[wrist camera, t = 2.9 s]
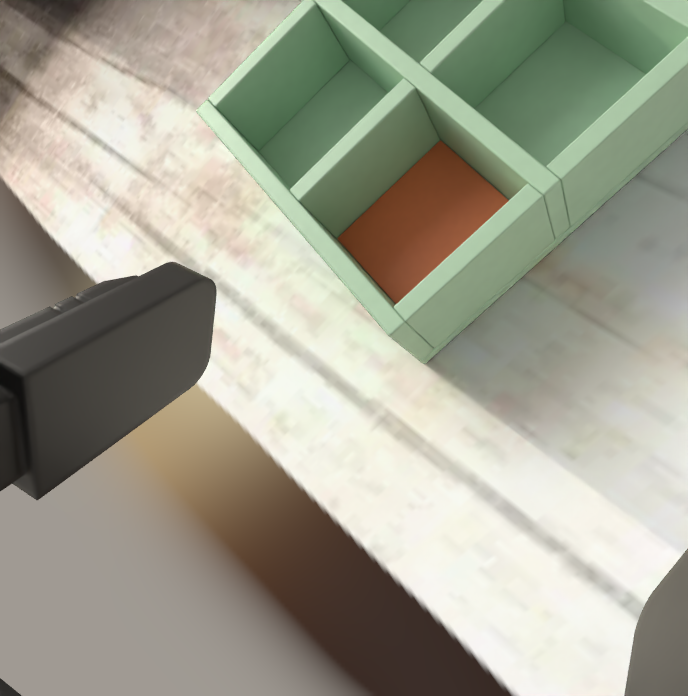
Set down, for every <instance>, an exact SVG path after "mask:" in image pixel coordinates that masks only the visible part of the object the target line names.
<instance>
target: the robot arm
mask: <svg viewBox="0 0 688 696" xmlns="http://www.w3.org/2000/svg"><path fill="white" fill-rule="evenodd" d="M215 304H216V286H215V283H214V282H213V281H212V280H211V279H209V278H207V277H205V276H203V275H201V274H199V273H197V272H195V271H193V270H191V269H188V268H186V267H184V266H182V265H180V264H178V263H176V262H168V263H166V264H163V265H161V266H159V267H157V268H155V269H153V270H151V271H149V272H147V273H145V274H143V275H141V276H139V277H138V276H130V277H125V278H119V279H114V280H109V281H103V282H101V283H99V284H97V285H95V286H93V287H91V288H88V289H86V290H84V291H82V292H80V293H78V294H77V296H76V297H75V298H74V297H72V296H71V297H69V298H67V299H65V300H63V301H60V302H58V303H56V304H55V306H54V308H51V307H48V308H46V309H43V310H41V311H39V312H37V313H35V314H33V315H30V316H28V317H26V318H24V319H22V320H20V321H18V322H15V323H13V324H11V325H9V326H7V327H5V328H3V329H0V491H1V490H3V489H4V488H6V487H7V486H9V485H10V484H14V485H15V486H17V487H18V488H20V489H21V490H23V491H24V492H26V493H27V494H28V495H30V496H31V497H33V498H34V499H36V500H38V499H40V498H41V497H43V496H44V495H45V494H47V493H48V492H50V491H51V490H52V489H54V488H55V487H56V486H58V485H59V484H60V483H62V482H63V481H64V480H66V479H67V478H68V477H70V476H71V475H73V474H74V473H75V472H77V471H78V470H79V469H81V468H82V467H83V466H85V465H86V464H88V463H89V462H90V461H92V460H93V459H94V458H96V457H97V456H98V455H100V454H101V453H102V452H104V451H105V450H107V449H108V448H109V447H111V446H112V445H114V444H115V443H116V442H118V441H119V440H120V439H122V438H123V437H124V436H126V435H127V434H129V433H130V432H131V431H132V430H134V429H135V428H137V427H138V426H139V425H141V424H142V423H143V422H145V421H146V420H148V419H149V418H150V417H152V416H153V415H154V414H156V413H157V412H158V411H160V410H161V409H163V408H164V407H165V406H166V405H168V404H169V403H171V402H172V401H174V400H175V399H176V398H178V397H179V396H180V395H182V394H183V393H184V392H186V391H187V390H189V389H190V388H191V387H192V386H194V385H195V383H196V382H197V381H198V380H199V379H200V377H201V376H202V374H203V373H204V371H205V369H206V367H207V365H208V362H209V358H210V353H211V343H212V333H213V323H214V314H215ZM0 696H21V695H20V694H19V693H18V692H16V691H15V690H14V689H13V688H12V687H10V686H9V685H8V684H6V683H5V682H4V681H3V680H2V679H0ZM624 696H688V549H687V550H686V551H685V553H684V554H683V555H682V556H681V558H680V559H679V560H678V561H677V563H676V564H675V565H674V566H673V568H672V569H671V570H670V571H669V573H668V574H667V575H666V576H665V577H664V579H663V580H662V581H661V582H660V584H659V585H658V586H657V587H656V589H655V590H654V591H653V593H652V594H651V596H650V597H649V599H648V600H647V602H646V604H645V606H644V608H643V610H642V613H641V615H640V617H639V620H638V623H637V626H636V630H635V634H634V640H633V646H632V652H631V658H630V665H629V671H628V677H627V683H626V689H625V695H624Z"/></svg>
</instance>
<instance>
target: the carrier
mask: <svg viewBox="0 0 688 696" xmlns="http://www.w3.org/2000/svg"><path fill="white" fill-rule="evenodd" d="M208 99H209V100H206V101H205V102H204V103H203V104H202V105H201V106H200V107H199V108H198V109H197V110H196V112H197V113H198V114H199V116H200V117H201V118H202V119H203V120H204V121H205V123H206V124H207V125H208V126H209V127H210V128H211V130H212V131H213V132H214V133H215V134H216V135H217V137H218V138H219V139H220V140H221V141H222V142H223V144H224V145H225V146H226V147H227V148H228V149H229V151H230V152H231V153H232V154H233V155H234V156H235V158H236V159H237V160H238V161H239V162H240V163H241V165H242V166H243V167H244V168H245V169H246V170H247V171H248V173H249V174H250V175H251V176H252V177H253V178H254V180H255V181H256V182H257V183H258V184H259V185H260V187H261V188H262V189H263V190H264V191H265V192H266V194H267V195H268V196H269V197H270V198H271V199H272V201H273V202H274V203H275V204H276V205H277V206H278V208H279V209H280V210H281V211H282V212H283V213H284V215H285V216H286V217H287V218H288V219H289V220H290V222H291V223H292V224H293V225H294V226H295V227H296V229H297V230H298V231H299V232H300V233H301V234H302V236H303V237H304V238H305V239H306V240H307V241H308V243H309V244H310V245H311V246H312V247H313V248H314V250H315V251H316V252H317V253H318V254H319V255H320V256H321V258H322V259H323V260H324V261H325V262H326V263H327V265H328V266H329V267H330V268H331V269H332V270H333V272H334V273H335V274H336V275H337V276H338V277H339V279H340V280H341V281H342V282H343V283H344V284H345V286H346V287H347V288H348V289H349V290H350V291H351V293H352V294H353V295H354V296H355V297H356V298H357V300H358V301H359V302H360V303H361V304H362V305H363V307H364V308H365V309H366V310H367V311H368V312H369V314H370V315H371V316H372V317H373V318H374V319H375V321H376V322H377V323H378V324H379V325H380V326H381V328H382V329H383V330H384V331H385V332H386V333H387V335H388V336H390V337H391V338H392V339H393V340H394V341H396V342H397V343H398V344H399V345H401V346H402V347H403V348H404V349H406V350H407V351H408V352H409V353H410V354H412V355H413V356H414V357H415V358H417V359H418V360H419V361H420V362H422V363H423V364H426V363H427V362H428V361H429V360H430V359H431V358H432V357H434V356H435V355H436V354H437V353H438V352H439V351H440V350H441V349H442V348H444V347H445V346H446V345H447V344H448V343H449V342H450V341H451V340H453V339H454V338H455V337H456V336H457V335H458V334H459V333H460V332H461V331H463V330H464V329H465V328H466V327H467V326H468V325H469V324H470V323H472V322H473V321H474V320H475V319H476V318H477V317H478V316H479V315H480V314H482V313H483V312H484V311H485V310H486V309H487V308H488V307H489V306H491V305H492V304H493V303H494V302H495V301H496V300H497V299H498V298H499V297H501V296H502V295H503V294H504V293H505V292H506V291H507V290H508V289H510V288H511V287H512V286H513V285H514V284H515V283H516V282H517V281H518V280H520V279H521V278H522V277H523V276H524V275H525V274H526V273H527V272H529V271H530V270H531V269H532V268H533V267H534V266H535V265H536V264H537V263H539V262H540V261H541V260H542V259H543V258H544V257H545V256H546V255H548V254H549V253H550V252H551V251H552V250H553V249H554V248H555V247H556V246H558V245H559V244H560V243H561V242H562V241H563V240H564V239H565V238H567V237H568V236H569V235H570V234H571V233H572V232H573V231H574V230H575V229H577V228H578V227H579V226H580V225H581V224H582V223H583V222H584V221H586V220H587V219H588V218H589V217H590V216H591V215H592V214H593V213H594V212H596V211H597V210H598V209H599V208H600V207H601V206H602V205H603V204H604V203H606V202H607V201H608V200H609V199H610V198H611V197H612V196H613V195H615V194H616V193H617V192H618V191H619V190H620V189H621V188H622V187H623V186H625V185H626V184H627V183H628V182H629V181H630V180H631V179H632V178H634V177H635V176H636V175H637V174H638V173H639V172H640V171H641V170H642V169H644V168H645V167H646V166H647V165H648V164H649V163H650V162H651V161H653V160H654V159H655V158H656V157H657V156H658V155H659V154H660V153H661V152H663V151H664V150H665V149H666V148H667V147H668V146H669V145H670V144H672V143H673V142H674V141H675V140H676V139H677V138H678V137H679V136H680V135H682V134H683V133H684V132H685V131H686V130H687V129H688V0H303V1H302V2H301V3H300V4H299V5H298V6H297V7H296V8H295V9H294V10H293V11H292V12H291V13H290V14H289V15H288V16H287V17H286V18H285V19H284V20H283V21H282V23H281V24H280V25H279V26H278V27H277V28H276V29H275V30H274V31H273V32H272V33H271V34H270V35H269V36H268V37H267V38H266V39H265V40H264V41H263V42H262V43H261V44H260V45H259V46H258V47H257V48H256V49H255V50H254V51H253V52H252V53H251V54H250V55H249V56H248V58H247V59H246V60H245V61H244V62H243V63H242V64H241V65H240V66H239V67H238V68H237V69H236V70H235V71H234V72H233V73H232V74H231V75H230V76H229V77H228V78H227V79H226V80H225V81H224V82H223V83H222V84H221V85H220V86H219V87H218V88H217V89H216V90H215V91H214V92H213V94H212V95H211V96H210V97H209V98H208Z"/></svg>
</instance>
